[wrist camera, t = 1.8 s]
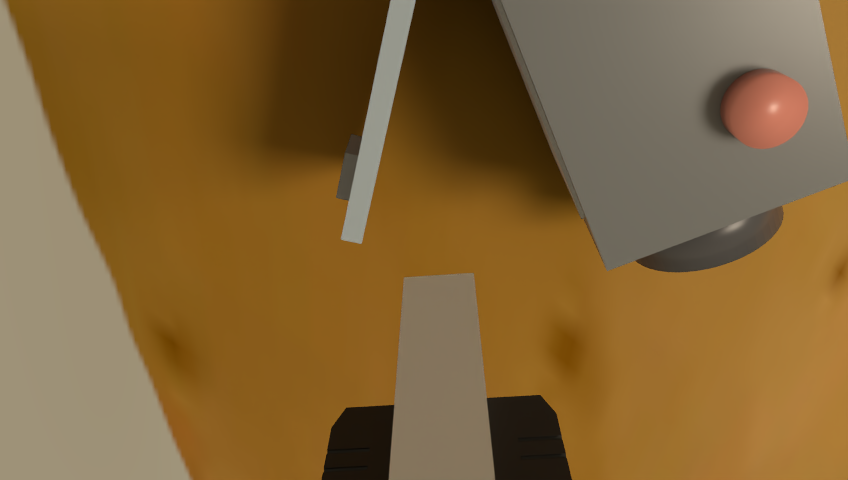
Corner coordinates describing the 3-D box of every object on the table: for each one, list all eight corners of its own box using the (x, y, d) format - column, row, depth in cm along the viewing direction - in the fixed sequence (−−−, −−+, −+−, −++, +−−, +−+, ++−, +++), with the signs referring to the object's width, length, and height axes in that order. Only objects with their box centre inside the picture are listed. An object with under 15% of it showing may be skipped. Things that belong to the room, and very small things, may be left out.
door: (409, -142, 28) (401, -151, 21) (445, -132, 28) (449, -138, 21) (347, 166, 34) (325, 236, 27) (377, 173, 34) (364, 244, 27)
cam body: (427, -159, 29) (424, -182, 19) (644, -272, 27) (763, -362, 17) (580, 224, 37) (633, 348, 27) (757, 155, 35) (884, 260, 25)
